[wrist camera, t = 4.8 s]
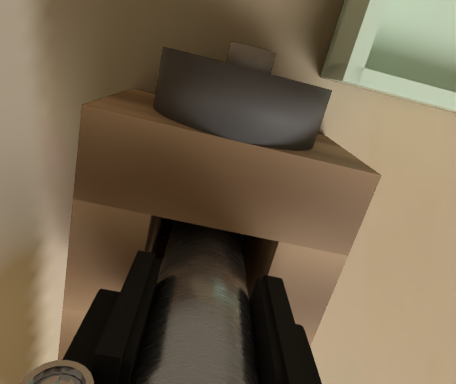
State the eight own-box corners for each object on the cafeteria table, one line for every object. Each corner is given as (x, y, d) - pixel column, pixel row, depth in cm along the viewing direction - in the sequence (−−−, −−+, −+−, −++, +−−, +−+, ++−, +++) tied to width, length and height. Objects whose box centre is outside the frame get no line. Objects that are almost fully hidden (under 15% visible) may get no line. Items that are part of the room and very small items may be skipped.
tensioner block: (141, 22, 14) (91, -3, 9) (345, 76, 15) (419, 85, 10) (105, 276, 19) (57, 369, 13) (266, 306, 20) (285, 405, 14)
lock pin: (178, 169, 17) (52, 512, 4) (251, 186, 17) (344, 545, 4) (165, 235, 18) (37, 655, 5) (233, 248, 18) (266, 671, 6)
